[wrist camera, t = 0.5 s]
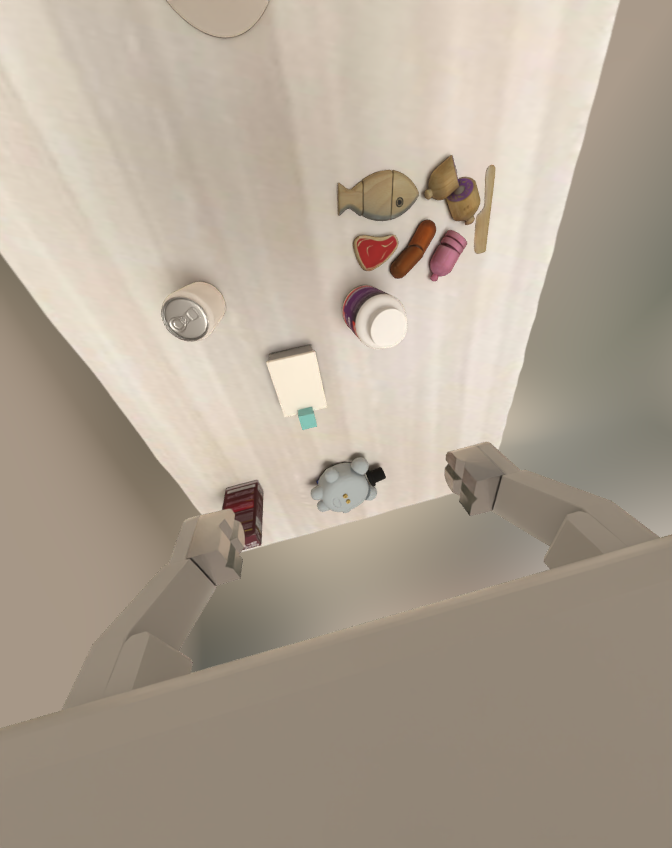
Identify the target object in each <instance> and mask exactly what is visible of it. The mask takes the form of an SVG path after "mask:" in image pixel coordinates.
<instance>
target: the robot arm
mask: <svg viewBox="0 0 672 848" xmlns="http://www.w3.org/2000/svg"><path fill="white" fill-rule="evenodd" d="M166 1H167V2H168V3H169V4H170V5H171V7H172V8H173V9H174V10H175V11H176V12H177V13H178V14H179V15H180V16H181V17H182V18H183V19H185V20H186V21H187V22H188V23H190V24H191V25H192V26H194V27H195V28H197V29H199V30H200V31H202V32H204V33H207V34H209V35H212V36H216V37H233V36H237V35H240V34H242V33H244V32H246V31H247V30H249V29H250V28H251V27H252V26H253V25H254V24H255V23H256V22H257V21H258V20H259V18H260V17H261V15H262V14H263V12H264V10H265V8H266V6H267V4H268V2H269V0H166ZM446 461H447V462H448V465H447V466H446V467H445V474H444V475H445V479H446V482H447V484H448V486H449V488H450V489H451V491H452V492H453V493H455V494H458V495H460V498H459V502H460V503H461V504H462V506H463V507H464V509H465V510H466V511H467V513H468V514H469V516H472V515H476V514H481V513H485V512H489V511H493V512H494V513H495V514H497V515H499V516H500V517H502V518H503V519H505V520H507V521H508V522H510V523H512V524H514V525H515V526H517V527H518V528H520V529H522V530H523V531H525V532H527V533H528V534H530V535H532V536H533V537H535V538H537V539H538V540H540V541H542V542H543V543H545V544H547V545H548V546H550V547H549V549H548V551H547V553H546V555H545V557H544V563H545V564H546V565H547V566H548V567H549V569H550V570H546V571H543V572H539V573H536V574H532V575H529V576H526V577H522V578H519V579H515V580H512V581H508V582H505V583H501V584H498V585H494V586H491V587H487V588H484V589H481V590H477V591H474V592H470V593H467V594H463V595H460V596H456V597H453V598H449V599H446V600H442V601H439V602H435V603H432V604H428V605H425V606H421V607H418V608H415V609H411V610H408V611H404V612H401V613H398V614H394V615H390V616H387V617H383V618H380V619H376V620H373V621H370V622H366V623H363V624H359V625H356V626H352V627H349V628H345V629H342V630H339V631H335V632H332V633H328V634H324V635H321V636H318V637H314V638H311V639H308V640H304V641H301V642H297V643H293V644H290V645H287V646H283V647H279V648H276V649H272V650H269V651H266V652H263V653H259V654H255V655H252V656H248V657H245V658H241V659H238V660H235V661H231V662H227V663H224V664H221V665H217V666H214V667H210V668H207V669H203V670H200V671H196V672H193V673H191V669H192V663H193V662H192V661H191V659H190V658H188V657H187V656H185V655H184V654H182V653H181V652H179V650H180V648H181V646H182V645H183V643H184V641H185V640H186V638H187V636H188V635H189V633H190V631H191V630H192V628H193V626H194V624H195V623H196V621H197V619H198V618H199V616H200V614H201V612H202V611H203V609H204V607H205V606H206V604H207V602H208V600H209V599H210V597H211V596H212V594H213V592H214V591H215V589H216V586H217V585H221V584H224V583H227V582H230V581H234V580H237V579H240V578H241V571H242V563H243V559H242V558H241V556H240V555H239V554H240V553H241V551H242V550H243V549H244V545H245V535H244V530H243V527H242V525H241V523H240V522H239V521H237V520H234V518H235V514H234V512H233V511H232V509H225V510H221V511H216V512H212V513H208V514H203V515H200V516H196V517H192V518H187V519H186V520H185V521H184V522H183V524H182V527H181V530H180V533H179V536H178V538H177V541H176V544H175V547H174V550H173V552H172V555H171V558H170V561H169V564H167V565H164V566H163V567H162V568H161V569H160V570H159V571H158V572H157V574H156V575H155V576H154V577H153V578H152V579H151V580H150V581H149V582H148V584H147V585H146V586H145V587H144V588H143V589H142V590H141V591H140V593H139V594H138V595H137V596H136V597H135V598H134V599H133V600H132V601H131V602H130V604H129V605H128V606H127V607H126V608H125V609H124V610H123V611H122V612H121V614H120V615H119V616H118V617H117V618H116V619H115V620H114V621H113V622H112V623H111V625H110V626H109V627H108V628H107V629H106V630H105V631H104V632H103V633H102V635H101V636H100V637H99V638H98V639H97V640H96V641H95V642H94V644H92V647H91V649H90V651H89V653H88V655H87V657H86V659H85V661H84V664H83V666H82V668H81V670H80V672H79V674H78V676H77V678H76V681H75V682H74V685H73V687H72V689H71V691H70V693H69V695H68V697H67V699H66V701H65V704H64V706H63V708H62V710H61V711H58V712H54V713H51V714H48V715H44V716H41V717H37V718H34V719H30V720H27V721H23V722H20V723H17V724H13V725H9V726H6V727H2V728H0V848H672V534H671V535H668V536H664V537H661V538H660V537H659V536H657V535H656V534H655V533H653V532H652V531H651V530H649V529H648V528H647V527H645V526H644V525H643V524H641V523H640V522H639V521H637V520H636V519H635V518H633V517H632V516H631V515H629V514H628V513H627V512H626V511H624V510H623V509H622V508H620V507H619V506H618V505H616V504H615V503H614V502H612V501H610V500H607V499H605V498H602V497H599V496H596V495H594V494H591V493H588V492H585V491H582V490H580V489H577V488H574V487H571V486H569V485H566V484H563V483H560V482H558V481H555V480H552V479H550V478H546V477H544V476H541V475H538V474H536V473H533V472H530V471H527V470H520V469H519V468H518V467H516V466H515V465H514V464H513V463H512V462H511V461H510V460H509V459H508V458H506V457H505V456H504V455H503V454H502V453H501V452H500V451H499V450H498V449H496V448H495V447H494V446H493V445H492V444H491V443H489V442H483V443H479V444H476V445H473V446H468V447H464V448H460V449H457V450H453V451H449V452H448V453H447V454H446Z"/></svg>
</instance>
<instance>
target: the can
mask: <svg viewBox="0 0 672 848" xmlns="http://www.w3.org/2000/svg"><path fill="white" fill-rule="evenodd" d="M225 309H226V306H225V301H224V298H223V296H222V294H221V293H220V292H219V291H218V290H217V289H216V288H215V287H214V286H212V285H211V284H208V283H205V282H194V283H192V284H189V285H187V286H185V287H183V288H181V289H179V290H177V291H175V292H173V293H171V294H170V295H169V296H167V298H166V299H165V300H164V302H163V305H162V310H161V317H162V321H163V323H164V325H165V327H166V328H167V330H168V331H169V332H170V333H171V334H172V335H174V336H175V337H177V338H179V339H181V340H184V341H199V340H202V339H205V338H206V337H208V336H209V335H210V334H211V333H212V331H213V330H214V329H215V327H216V326H217V325H218V323H219V322H220V320H221V319H222V317H223V316H224V313H225Z"/></svg>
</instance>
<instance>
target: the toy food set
mask: <svg viewBox="0 0 672 848" xmlns="http://www.w3.org/2000/svg"><path fill="white" fill-rule="evenodd" d="M494 178H495V166H494V165H490V166H489V167H488V168H487V170H486V177H485V203H484V208H483V210H482V211H481V212H480V213H479V214H478V215H477V217H476V224H475V237H474V251H475V252H476V253H477V254H479V253H483V252H485V251H486V244H487V235H488V227H489V219H490V211H491V203H492V195H493V187H494ZM424 195H425V198H426V199H428V200H429V199H430V198H431V197H432V198H434V199H436V200H443V199H445V198H446V200H447V203H448V206H449V209H450V212H451V215H452V218H453V219H454V220H455V221H465V220H466V221H465V225H469V224H471V223H473V221H474V219H475V218H474V216H473V215H474V214H475V213H476V211H477V210H478V207H479V205H480V196H479V192H478V189H477V185H476V182H475V180H474V179H472V178H468V177H462V178H459V179H458V177H457V170H456V166H455V164H454V159H453V156H452V155H451V156H450V157H448V158H447V159H446V160H445V161H444V162H443V163H442V164H441V165H439V166H438V167H437V168H436V169H435V170H434V171H433V172H432V174H431V176H430V179H429V184H428V190H426V191H425V194H424ZM418 196H419V192H418V190H417V188H416V186H415V185H414V183H413V182H412V181H411V180H410V179H409V178H408V177H407V176H406V175H404V174H402V173H400V172H398V171H395V170H392V171H391V170H384V171H379V172H376V173H373V174H371V175H369V176H367V177H366V178H364V179H363V180H362V182H359V183H358V184H357V185H356V186H355V187H353V188H352V189H350V190H349V189H347V188H345V187H344V186H343V185H341V184H340V183H338V215H339V216H340V215H341V214H342V213H343V212H344V211H345V210H346V209H351V210H352V211H354V212H355V213H356V214H358V215H359V216H361V215H362V216H363V217H365V218H368V219H371V220H376V221H386V220H392V219H395V218H397V217H399V216H400V215H402V214H403V213H405V212H406V211H407V210H408V209H409V208H410V207H411V206H412V205H413V204H414V203H415V201H416V200H417V198H418ZM435 233H436V226H435V223H434V222H433V221H431V220H425V221H423V222H422V223H421V224H420V225H419V226H418V228H417V230H416V232H415V234H414V236H413V237H412V239H411V241H410V243H409V245H408V247H407V248H406V249H405V250H404V251H403V252H402V253H401V254H400V255H399V256H398V258H397V259H396V260H395V261H394V262H393V263H392V265H391V269H390V270H391V274H392V276H393V277H394V278H397V279H399V278H402V277H404V276H405V275H406V274H407V273H408V272H409V271H410V270H411V269H412V268H413V267H414V266H415V265H416V263H417V262H418V261H419V260H420V259H421V258H422V257H423V254H424V253H425V251H426V249H427V248H428V246H429V244H430V242H431V241H432V239H433V237H434V235H435ZM466 245H467V241H466V240H465V239H464V237H462V236H461V235H460V234H458V233H457V232H455V231H452V230H448V231H447V233H446V234H445V237H443V239H442V240H441V245H439V246H438V247H437V249H436V251H435V253H434V255H433V257H432V259H431V261H430V268H431V271H432V273H433V274H432V276H431V280H432V281H437V279H438V276H445V275H447V274H448V273H450V272H451V270H452V269H453V267H454V265H455V263H456V261H457V260H458V258H459V256H460V254H461V253H462V252H463V249H464V248H465V247H466ZM397 246H398V239H397V237H396V236H395V235H388V236H385V237H372V236H367V235H362V236H358V237H357V238H355V240H354V242H353V248H354V252H355V255H356V258H357V261H358V263H359V265H360V266H361V268H362V269H363V270H365V271H371V270H374V269H376V268H377V267H379V266H380V265H382V264H383V263H384V262H385V261H386V260H388V259H389V258H390V256H391V255H392V254H393V253H394V252H395V250H396V249H397Z"/></svg>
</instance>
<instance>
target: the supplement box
mask: <svg viewBox="0 0 672 848" xmlns="http://www.w3.org/2000/svg"><path fill="white" fill-rule="evenodd" d="M225 509H232V511H233V512H234V514H235V518H234V520H237V521H239V522H240V523H241V525H242V527H243V530H244V535H245V545H244V549H243V550H245V549H249V548H252V547H256V546H260V545H261V542H262V516H263V489H262V487H261V486H260V484H259V482H258V480H256V481H252V482H249V483H245V484H241V485H237V486H234V487H230V488H226V492H225V497H224V503H223V508H222V510H225Z"/></svg>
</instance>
